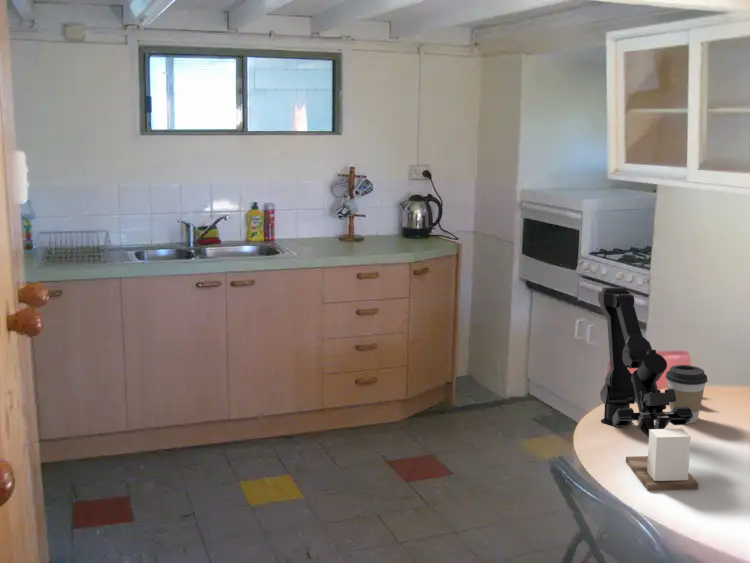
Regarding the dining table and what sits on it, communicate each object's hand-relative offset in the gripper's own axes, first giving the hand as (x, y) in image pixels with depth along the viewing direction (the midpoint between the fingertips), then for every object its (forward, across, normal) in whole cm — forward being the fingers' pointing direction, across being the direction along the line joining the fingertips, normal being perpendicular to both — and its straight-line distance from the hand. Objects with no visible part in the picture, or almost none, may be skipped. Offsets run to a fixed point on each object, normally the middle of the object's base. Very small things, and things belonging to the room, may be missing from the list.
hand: (659, 448), depth 200 cm
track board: (+6, 0, +3) cm, 6 cm away
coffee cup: (-20, +20, +29) cm, 40 cm away
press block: (+7, 0, -1) cm, 7 cm away
